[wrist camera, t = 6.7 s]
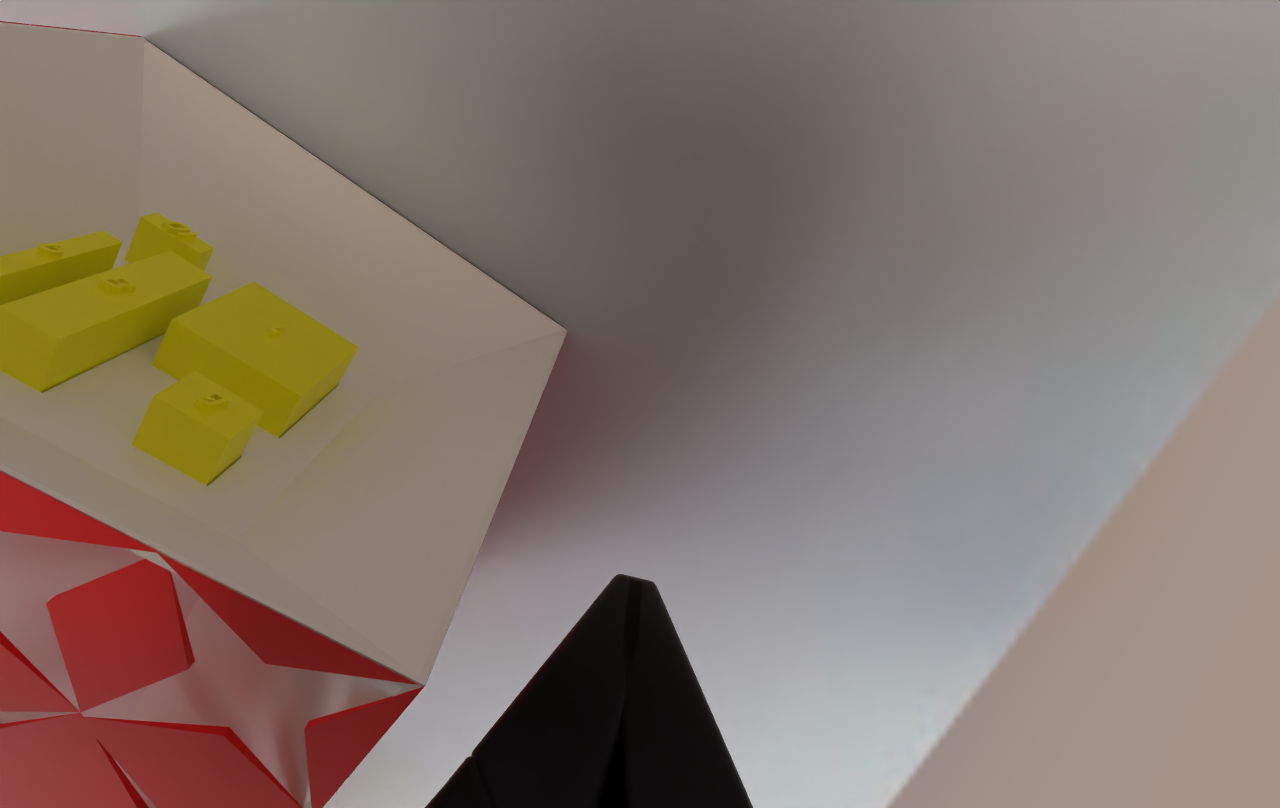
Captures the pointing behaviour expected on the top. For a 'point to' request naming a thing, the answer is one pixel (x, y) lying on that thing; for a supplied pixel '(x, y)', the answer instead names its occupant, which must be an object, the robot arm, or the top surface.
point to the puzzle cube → (224, 440)
